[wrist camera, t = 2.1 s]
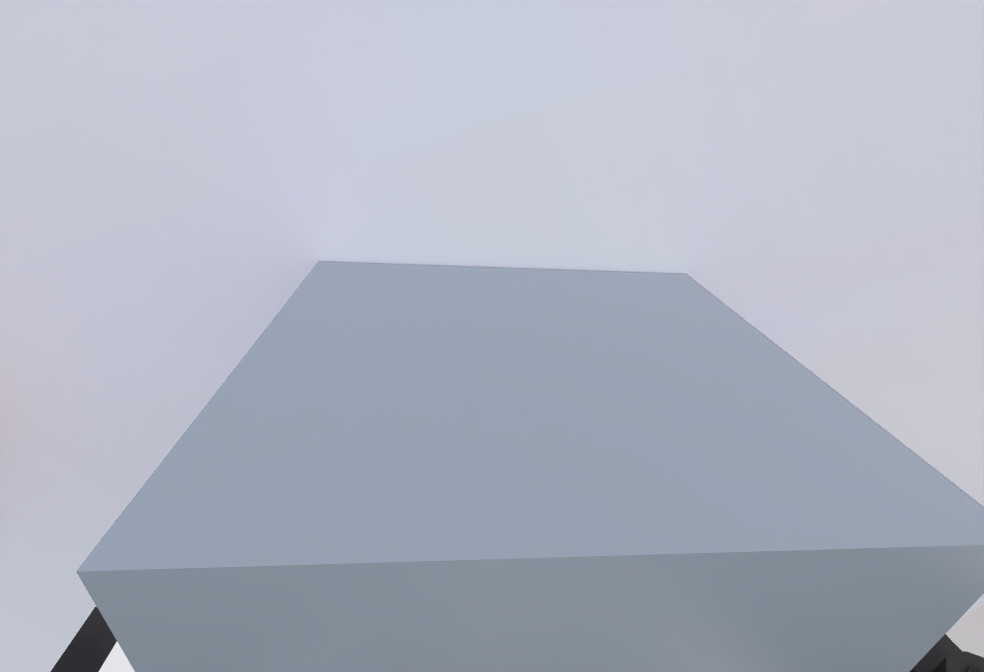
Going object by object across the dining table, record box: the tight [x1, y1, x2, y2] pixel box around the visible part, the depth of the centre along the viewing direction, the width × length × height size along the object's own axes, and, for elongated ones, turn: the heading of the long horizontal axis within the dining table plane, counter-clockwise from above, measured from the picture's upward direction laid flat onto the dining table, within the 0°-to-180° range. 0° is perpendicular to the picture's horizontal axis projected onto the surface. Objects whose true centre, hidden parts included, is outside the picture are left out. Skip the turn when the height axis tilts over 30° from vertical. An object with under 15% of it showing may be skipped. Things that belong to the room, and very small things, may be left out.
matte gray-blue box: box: [76, 261, 984, 672], centre depth 11 cm, size 10×10×9 cm
